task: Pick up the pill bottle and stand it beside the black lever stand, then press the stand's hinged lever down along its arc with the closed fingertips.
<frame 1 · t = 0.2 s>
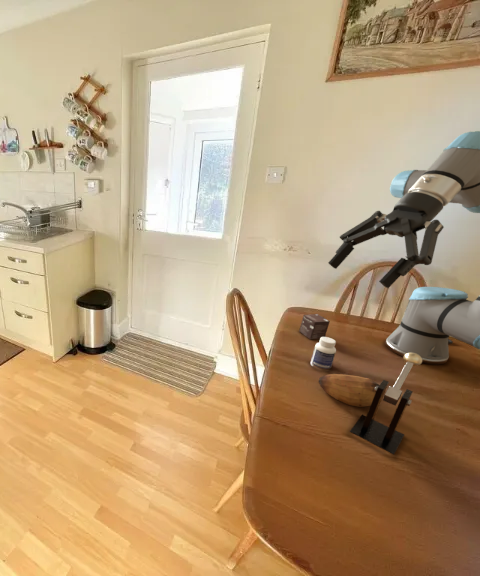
hand: (355, 274, 76), 35 cm above the table, tool tilted 35°, fingers open, 13 cm apart
black lever stand: (375, 436, 74), on the table
potato: (344, 402, 85), on the table
hinged lever: (402, 376, 71), point 15 cm above the table, hinge at 25.0°
pill bottle: (319, 367, 100), on the table
box: (311, 335, 118), on the table
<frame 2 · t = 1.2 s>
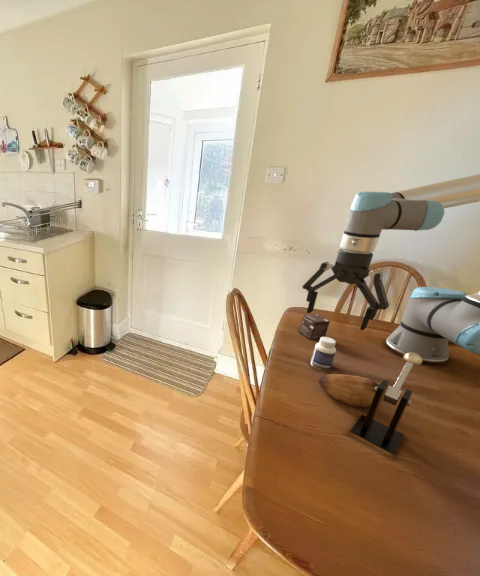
hand: (334, 319, 93), 17 cm above the table, tool pointing down, fingers open, 13 cm apart
nothing on the table moved.
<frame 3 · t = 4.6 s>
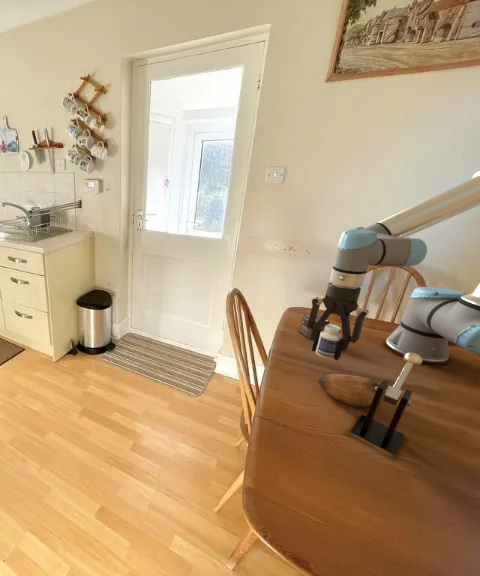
hand: (325, 353, 98), 5 cm above the table, tool pointing down, fingers closed on pill bottle, 5 cm apart
pill bottle: (325, 355, 98), point 4 cm above the table, touching gripper
everything else where it was.
when the fingers open (0 cm above the table, at t = 10.6 s): pill bottle stays where it is, on the table.
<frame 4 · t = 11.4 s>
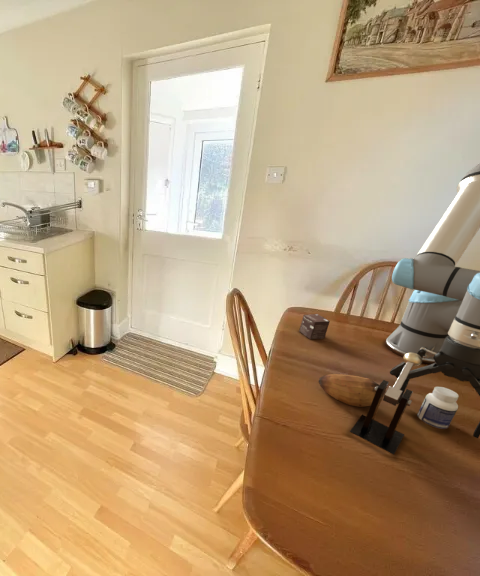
hand: (434, 417, 76), 2 cm above the table, tool pointing down, fingers open, 13 cm apart
pill bottle: (430, 424, 77), on the table
everything else where it was.
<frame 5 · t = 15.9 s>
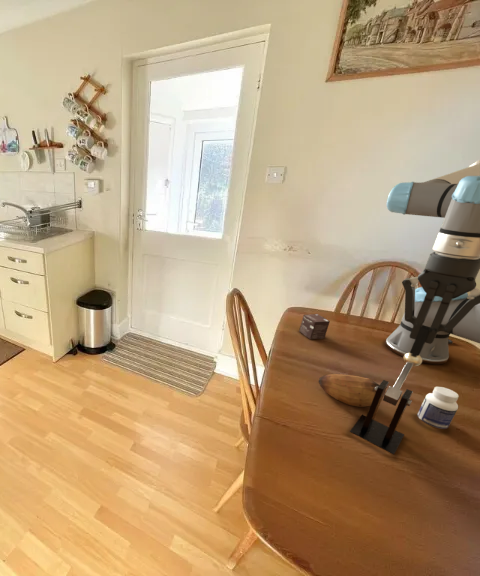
hand: (415, 352, 73), 19 cm above the table, tool pointing down, fingers closed
hinged lever: (402, 376, 71), point 15 cm above the table, hinge at 25.0°, touching gripper
everything else where it was.
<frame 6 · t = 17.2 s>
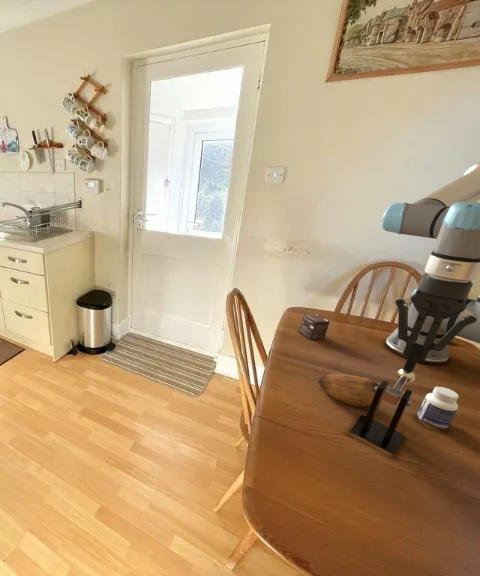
hand: (408, 369, 75), 14 cm above the table, tool pointing down, fingers closed
hinged lever: (399, 384, 73), point 12 cm above the table, hinge at 0.0°, touching gripper
everything else where it was.
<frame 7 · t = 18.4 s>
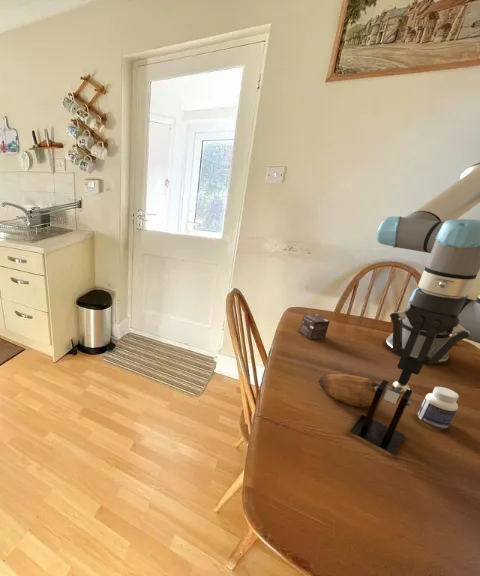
hand: (403, 381, 76), 10 cm above the table, tool pointing down, fingers closed
hinged lever: (396, 391, 73), point 10 cm above the table, hinge at -16.5°, touching gripper
everything else where it was.
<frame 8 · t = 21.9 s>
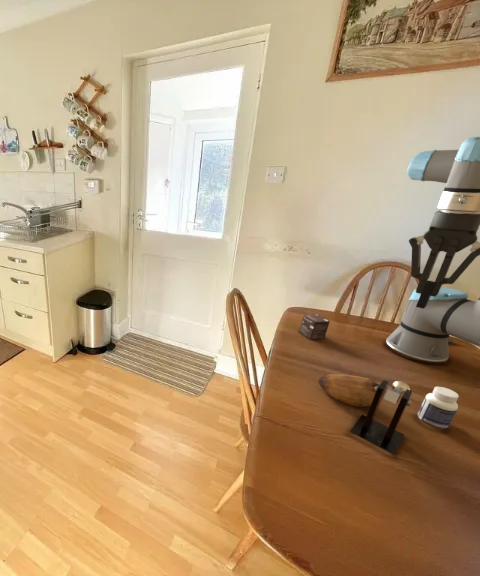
hand: (421, 306, 79), 26 cm above the table, tool pointing down, fingers closed
hinged lever: (396, 391, 73), point 10 cm above the table, hinge at -16.6°
everything else where it was.
at the end: hinged lever at -17° (first picture: +25°); pill bottle inside the target area (0.1 cm from its centre), on the table; pill bottle tilted 0° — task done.
